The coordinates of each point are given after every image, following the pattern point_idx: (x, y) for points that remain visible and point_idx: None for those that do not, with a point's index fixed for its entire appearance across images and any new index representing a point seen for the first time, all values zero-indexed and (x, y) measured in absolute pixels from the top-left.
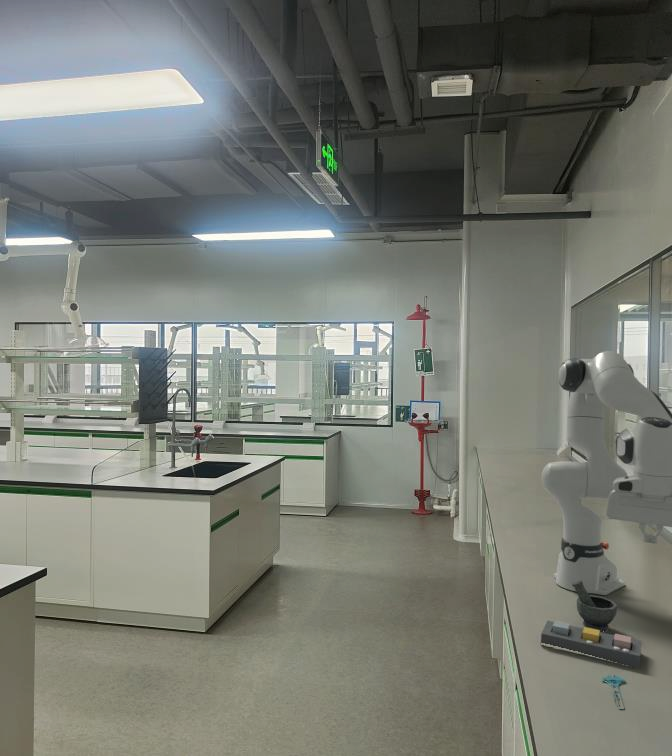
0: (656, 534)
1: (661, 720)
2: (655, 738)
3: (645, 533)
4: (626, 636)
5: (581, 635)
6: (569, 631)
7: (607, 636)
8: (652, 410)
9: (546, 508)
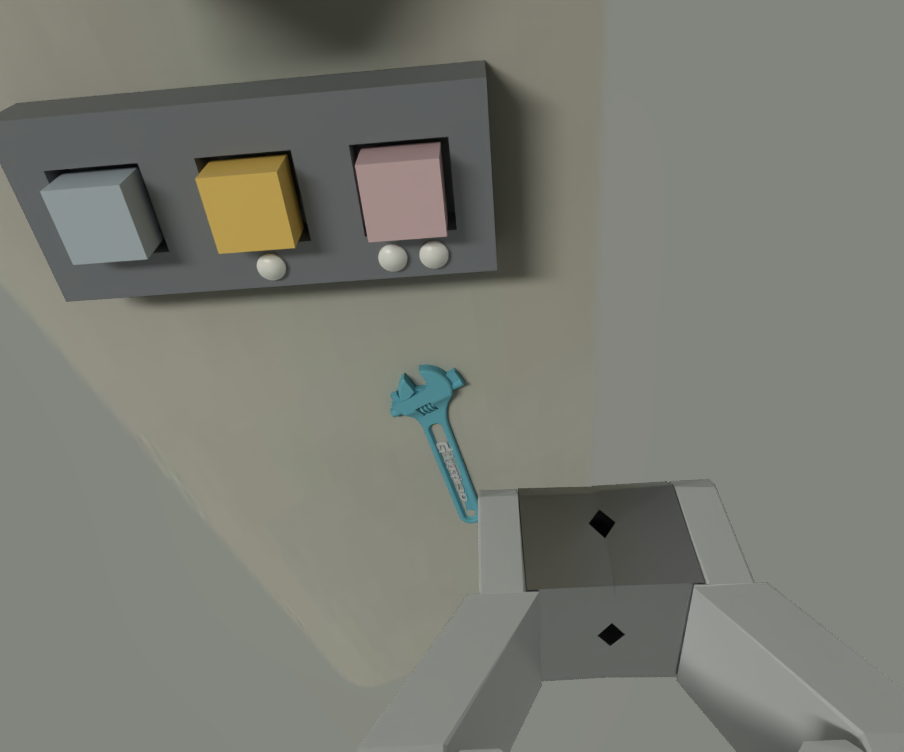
0: (727, 718)
1: None
2: None
3: (518, 713)
4: (415, 168)
5: None
6: (136, 171)
7: (317, 134)
8: None
9: None
